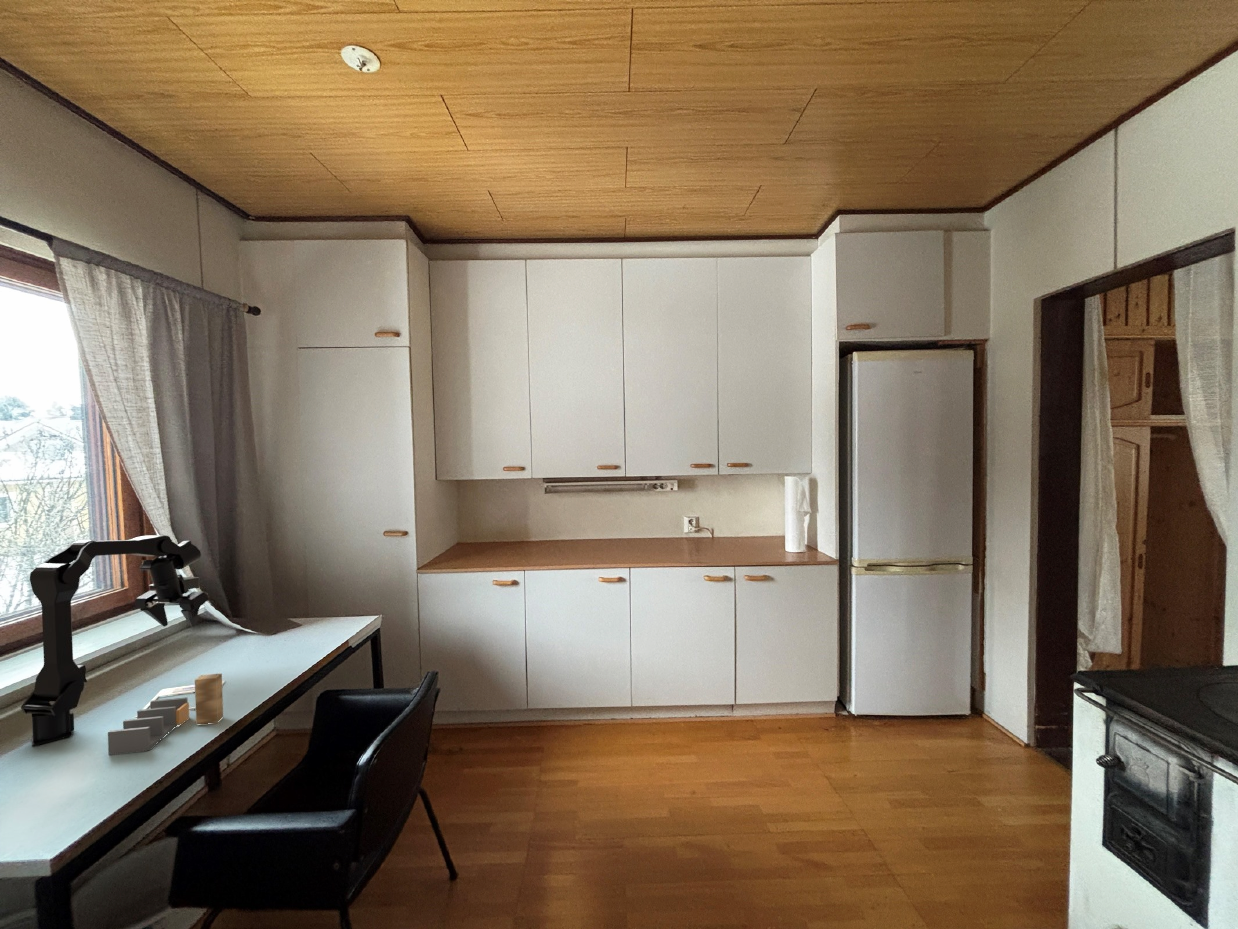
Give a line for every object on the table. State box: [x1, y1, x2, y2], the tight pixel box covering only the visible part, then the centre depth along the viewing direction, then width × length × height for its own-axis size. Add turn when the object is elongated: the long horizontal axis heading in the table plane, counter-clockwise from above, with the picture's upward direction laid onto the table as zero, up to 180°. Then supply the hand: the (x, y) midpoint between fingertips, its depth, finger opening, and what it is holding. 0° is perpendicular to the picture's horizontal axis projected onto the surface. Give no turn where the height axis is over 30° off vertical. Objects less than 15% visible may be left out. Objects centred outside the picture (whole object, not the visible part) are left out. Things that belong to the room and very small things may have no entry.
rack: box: [107, 697, 190, 756], centre depth 134 cm, size 8×16×5 cm, turn 12°
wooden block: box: [194, 673, 224, 725], centre depth 140 cm, size 4×3×11 cm, turn 102°
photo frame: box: [134, 680, 226, 719], centre depth 154 cm, size 15×1×18 cm
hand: (179, 626), depth 167 cm, fingers open, 9 cm apart
